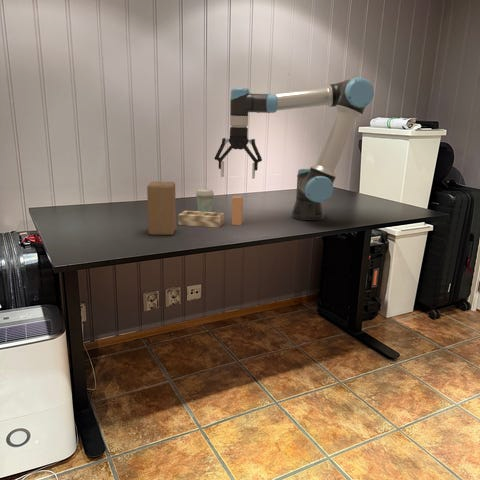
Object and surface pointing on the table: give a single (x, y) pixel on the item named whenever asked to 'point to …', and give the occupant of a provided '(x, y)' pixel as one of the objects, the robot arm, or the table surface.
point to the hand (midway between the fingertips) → (237, 177)
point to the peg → (237, 210)
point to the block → (161, 208)
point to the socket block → (201, 219)
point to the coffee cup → (204, 200)
